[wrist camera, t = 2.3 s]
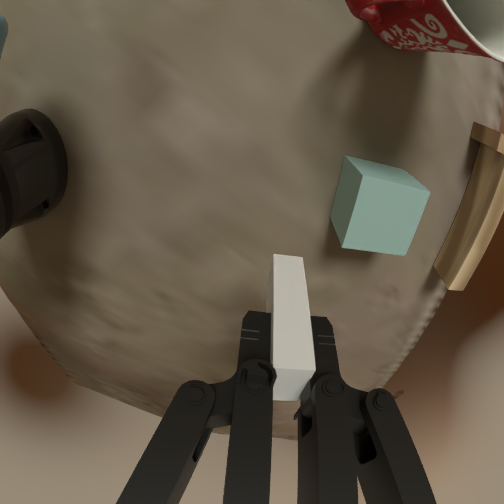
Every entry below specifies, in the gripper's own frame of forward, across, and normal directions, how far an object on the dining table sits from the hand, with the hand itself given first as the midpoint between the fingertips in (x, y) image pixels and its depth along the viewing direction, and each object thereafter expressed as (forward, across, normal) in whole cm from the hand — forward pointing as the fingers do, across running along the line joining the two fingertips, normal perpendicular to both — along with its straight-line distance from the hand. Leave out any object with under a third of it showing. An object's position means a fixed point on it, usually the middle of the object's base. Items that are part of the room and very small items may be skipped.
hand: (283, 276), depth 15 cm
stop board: (+15, +24, +2) cm, 28 cm away
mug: (+15, +8, +19) cm, 26 cm away
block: (+15, +10, 0) cm, 18 cm away
